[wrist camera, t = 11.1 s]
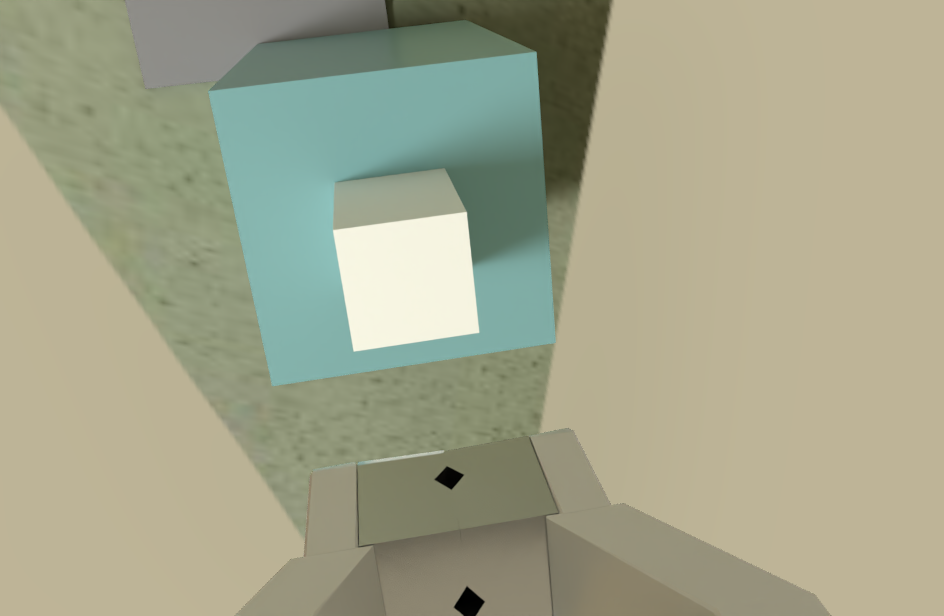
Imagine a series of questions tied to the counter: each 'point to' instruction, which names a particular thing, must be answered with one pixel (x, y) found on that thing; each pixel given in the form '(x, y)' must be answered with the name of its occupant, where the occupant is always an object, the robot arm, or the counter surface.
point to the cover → (389, 197)
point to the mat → (233, 31)
